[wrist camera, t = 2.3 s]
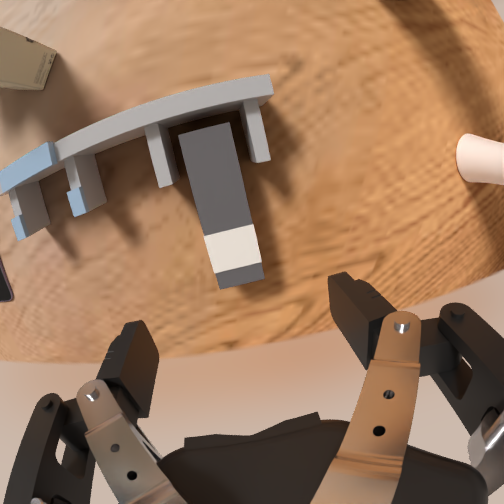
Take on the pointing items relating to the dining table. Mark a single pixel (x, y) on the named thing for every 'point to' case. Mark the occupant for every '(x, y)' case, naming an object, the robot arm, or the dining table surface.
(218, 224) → the gray rectangular block
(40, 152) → the grey pronged rack
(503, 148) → the cosmetic bottle
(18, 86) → the box
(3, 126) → the dining table surface
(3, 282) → the smartphone
